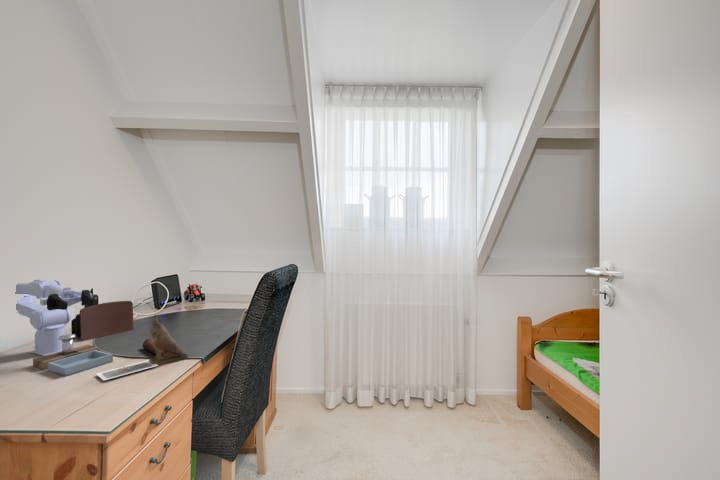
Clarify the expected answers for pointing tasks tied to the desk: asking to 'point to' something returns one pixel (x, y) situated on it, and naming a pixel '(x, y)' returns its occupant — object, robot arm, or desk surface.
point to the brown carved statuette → (165, 346)
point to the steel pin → (67, 344)
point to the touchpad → (125, 370)
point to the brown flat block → (44, 360)
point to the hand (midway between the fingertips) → (79, 304)
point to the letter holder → (103, 320)
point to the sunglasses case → (149, 345)
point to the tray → (79, 362)
